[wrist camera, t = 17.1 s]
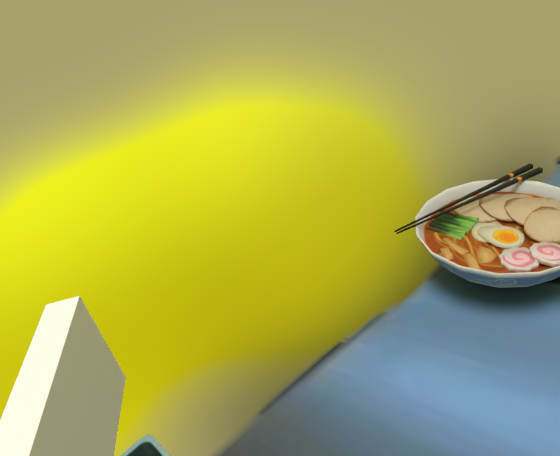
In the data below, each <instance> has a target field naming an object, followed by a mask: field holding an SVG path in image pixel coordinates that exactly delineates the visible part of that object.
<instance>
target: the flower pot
mask: <svg viewBox="0 0 560 456" xmlns="http://www.w3.org/2000/svg"><path fill="white" fill-rule="evenodd" d="M121 456H171V455H170V454H169V453H168V452H167V451H166V450H165V449H164V448H163V447H162V446H161V444H160V443H159V442H158V441H157V440H156V439H155V438H154V437H153V436H152V435H146V436H144V437H142V438H141V439H139V440H138V441H137V442H135V443H134V444H133V445H132V446H131V447H130V448H129V449H128V450H126V451H125V452H124V453H123V454H122V455H121Z"/></svg>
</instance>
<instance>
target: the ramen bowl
mask: <svg viewBox="0 0 560 456" xmlns="http://www.w3.org/2000/svg"><path fill="white" fill-rule="evenodd" d="M532 168H533V165H532V164H528V165H526V166H524V167H522V168H520V169H518V170H516V171H514V172H512V173H510V174H508V175H506V176H504V177H502V178H500V179H494V180H483V181H473V182H470V183H467V184H463V185H459V186H456V187H452V188H448V189H446V190H444V191H443V192H441V193H439V194H438V195H436V196H434V197H433V198H431V199H429V200H428V201H426V203H425V204H424V205H423V207H422V208H421V209H420V211H419V212H418V214H417V215H416V217H415V221H413V222H411V223H410V224H407V225H406V226H404V227H401V228H399V229H398V230H401V229H402V228H405V227H407V226H409V225H411V224H414V223H415V225H413V226H410V227H408V228H406V229H404V230H402V231H400V232H403V231H405V230H407V229H410V228H412V227H416V236H417V237H418V239H419V240H420V241H421V243H422V244H423V245H424V247H425V248H426V249H427V250H428V251H429V253H430V254H431V255H432V256H433V257H434V259H435V260H436V261H437V262H438V263H439V264H440V265H441V266H442V267H444V268H445V269H447V270H448V271H450V272H452V273H454V274H456V275H458V276H460V277H462V278H464V279H466V280H468V281H470V282H474V283H478V284H483V285H487V286H492V287H497V288H508V287H529V286H533V285H536V284H539V283H543V282H546V281H550V280H553V279H556V278H558V277H560V188H559V187H556V186H552V185H549V184H545V183H542V182H538V181H527V180H525V179H528V178H530V177H533V176H535V175H537V174H540V173H542V171H543V169H542V168H537V169H535V170H532V171H530V172H528V173H526V174H524V175H521V176H519V177H518V178H515V179H511V178H512V177H515V176H517V175H519V174H521V173H524V172H526V171H528V170H530V169H532ZM398 230H396V231H398ZM396 231H395V232H396ZM400 232H397V234H398V233H400Z"/></svg>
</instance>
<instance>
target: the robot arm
mask: <svg viewBox="0 0 560 456" xmlns="http://www.w3.org/2000/svg"><path fill="white" fill-rule="evenodd" d="M125 378H126V377H125V375H124V373H123V372H122V370H121V368H120V367H119V365H118V363H117V361H116V359H115V358H114V356H113V354H112V352H111V351H110V349H109V347H108V345H107V344H106V342H105V340H104V338H103V337H102V335H101V333H100V331H99V329H98V328H97V326H96V324H95V322H94V321H93V319H92V317H91V315H90V314H89V312H88V310H87V308H86V307H85V305H84V303H83V301H82V300H81V298H80V296H77V297H74V298H70V299H67V300H63V301H59V302H55V303H51V304H47V305H46V307H45V309H44V312H43V314H42V317H41V319H40V322H39V324H38V327H37V329H36V332H35V334H34V337H33V339H32V342H31V344H30V347H29V349H28V352H27V355H26V357H25V359H24V362H23V365H22V367H21V370H20V372H19V375H18V378H17V380H16V382H15V385H14V387H13V390H12V392H11V395H10V397H9V400H8V402H7V405H6V408H5V410H4V412H3V415H2V417H1V420H0V456H114V450H115V443H116V437H117V430H118V424H119V417H120V410H121V403H122V398H123V391H124V385H125Z"/></svg>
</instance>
